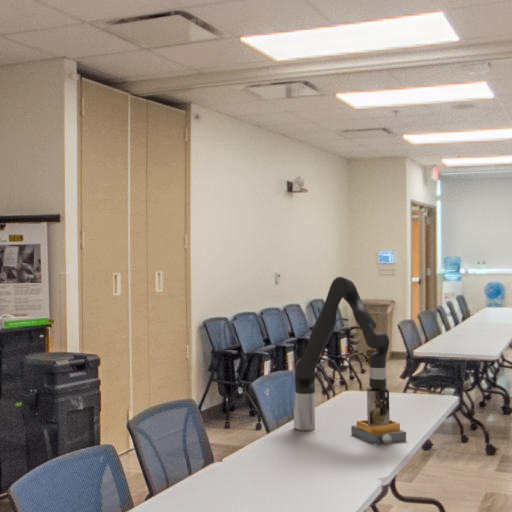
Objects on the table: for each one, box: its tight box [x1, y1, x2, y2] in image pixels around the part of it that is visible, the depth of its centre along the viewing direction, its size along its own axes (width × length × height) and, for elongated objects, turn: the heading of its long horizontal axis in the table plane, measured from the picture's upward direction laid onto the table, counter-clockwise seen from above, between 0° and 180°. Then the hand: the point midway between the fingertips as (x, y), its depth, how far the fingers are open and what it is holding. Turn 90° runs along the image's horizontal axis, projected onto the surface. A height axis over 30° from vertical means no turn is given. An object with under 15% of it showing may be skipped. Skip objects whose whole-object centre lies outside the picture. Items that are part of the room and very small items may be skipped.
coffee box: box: [366, 387, 391, 426], centre depth 332 cm, size 9×6×16 cm
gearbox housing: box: [350, 419, 407, 445], centre depth 331 cm, size 16×22×7 cm
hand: (377, 413), depth 332 cm, fingers closed on coffee box, 7 cm apart
